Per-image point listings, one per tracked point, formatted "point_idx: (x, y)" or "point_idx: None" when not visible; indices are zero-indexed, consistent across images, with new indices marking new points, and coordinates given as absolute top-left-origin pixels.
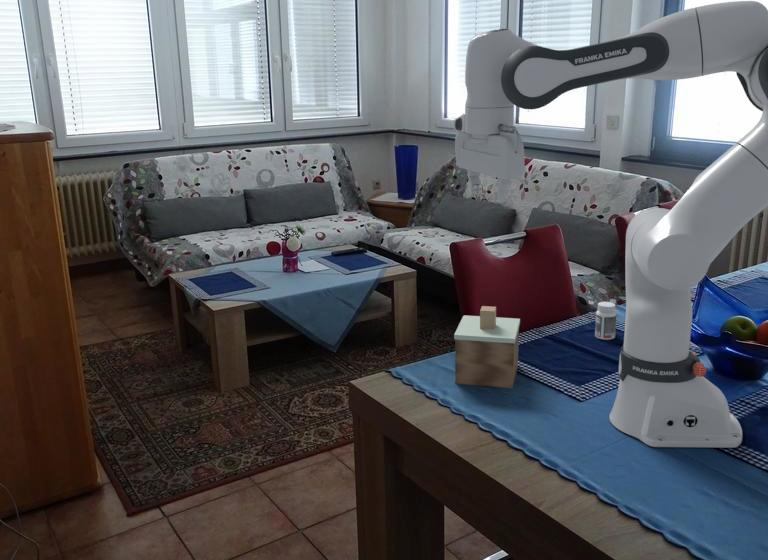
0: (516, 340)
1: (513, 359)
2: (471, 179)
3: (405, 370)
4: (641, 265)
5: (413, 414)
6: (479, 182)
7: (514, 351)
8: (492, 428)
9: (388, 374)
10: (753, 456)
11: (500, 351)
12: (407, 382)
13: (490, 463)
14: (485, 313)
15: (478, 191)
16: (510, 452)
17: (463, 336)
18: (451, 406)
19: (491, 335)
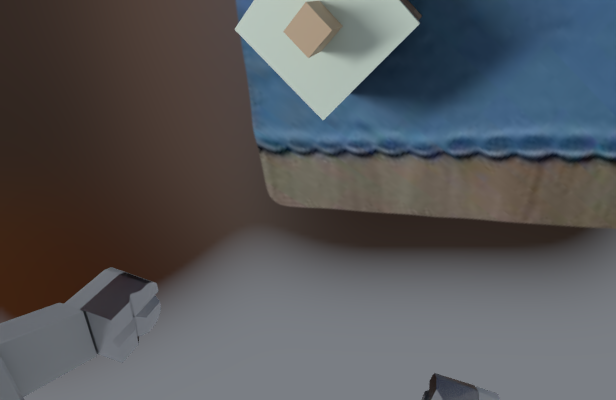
0: None
1: (418, 19)
2: (51, 376)
3: (265, 127)
4: None
5: (395, 200)
6: (69, 320)
7: (403, 3)
8: (509, 145)
9: (267, 154)
10: None
11: None
12: (304, 149)
13: (581, 211)
14: (318, 47)
15: (146, 306)
16: (585, 172)
17: (336, 106)
18: (409, 147)
19: (369, 57)
